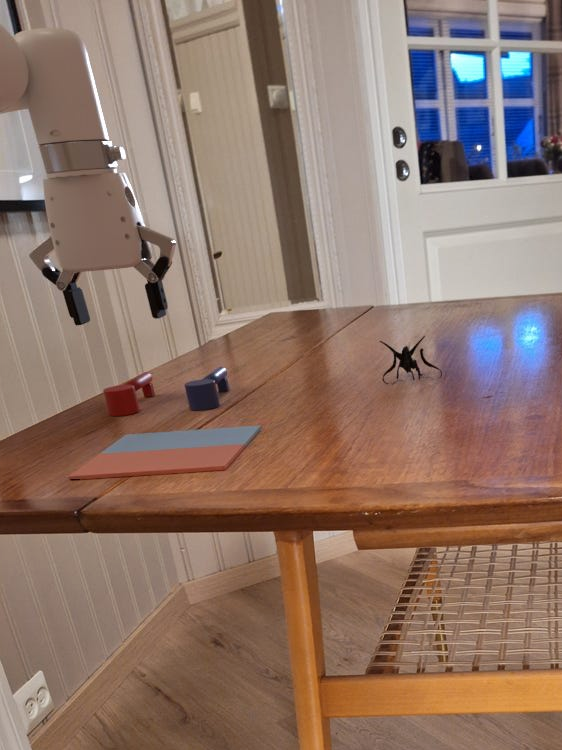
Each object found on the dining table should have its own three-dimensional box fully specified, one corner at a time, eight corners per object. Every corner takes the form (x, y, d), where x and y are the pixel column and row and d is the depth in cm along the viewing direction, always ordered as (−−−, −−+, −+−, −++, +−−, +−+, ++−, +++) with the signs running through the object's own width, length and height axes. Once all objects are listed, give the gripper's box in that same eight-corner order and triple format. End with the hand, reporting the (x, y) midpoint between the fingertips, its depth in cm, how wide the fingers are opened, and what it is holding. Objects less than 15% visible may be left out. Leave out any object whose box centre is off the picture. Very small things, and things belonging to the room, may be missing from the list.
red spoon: (134, 415, 105) (127, 390, 104) (105, 417, 105) (98, 392, 104) (166, 393, 116) (160, 370, 114) (139, 395, 116) (133, 372, 114)
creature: (447, 389, 111) (432, 364, 117) (446, 348, 108) (431, 325, 114) (387, 396, 110) (375, 371, 115) (384, 355, 106) (372, 331, 112)
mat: (69, 480, 82) (68, 476, 82) (126, 438, 95) (125, 434, 95) (225, 469, 81) (224, 465, 81) (261, 428, 95) (260, 425, 94)
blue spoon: (215, 409, 105) (210, 384, 103) (186, 411, 105) (180, 386, 104) (239, 388, 115) (235, 365, 114) (213, 390, 116) (208, 366, 114)
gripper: (164, 155, 101) (199, 309, 110) (20, 169, 102) (65, 321, 110) (142, 154, 95) (181, 319, 103) (-12, 169, 95) (39, 331, 104)
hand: (121, 320), depth 107 cm, fingers open, 9 cm apart
